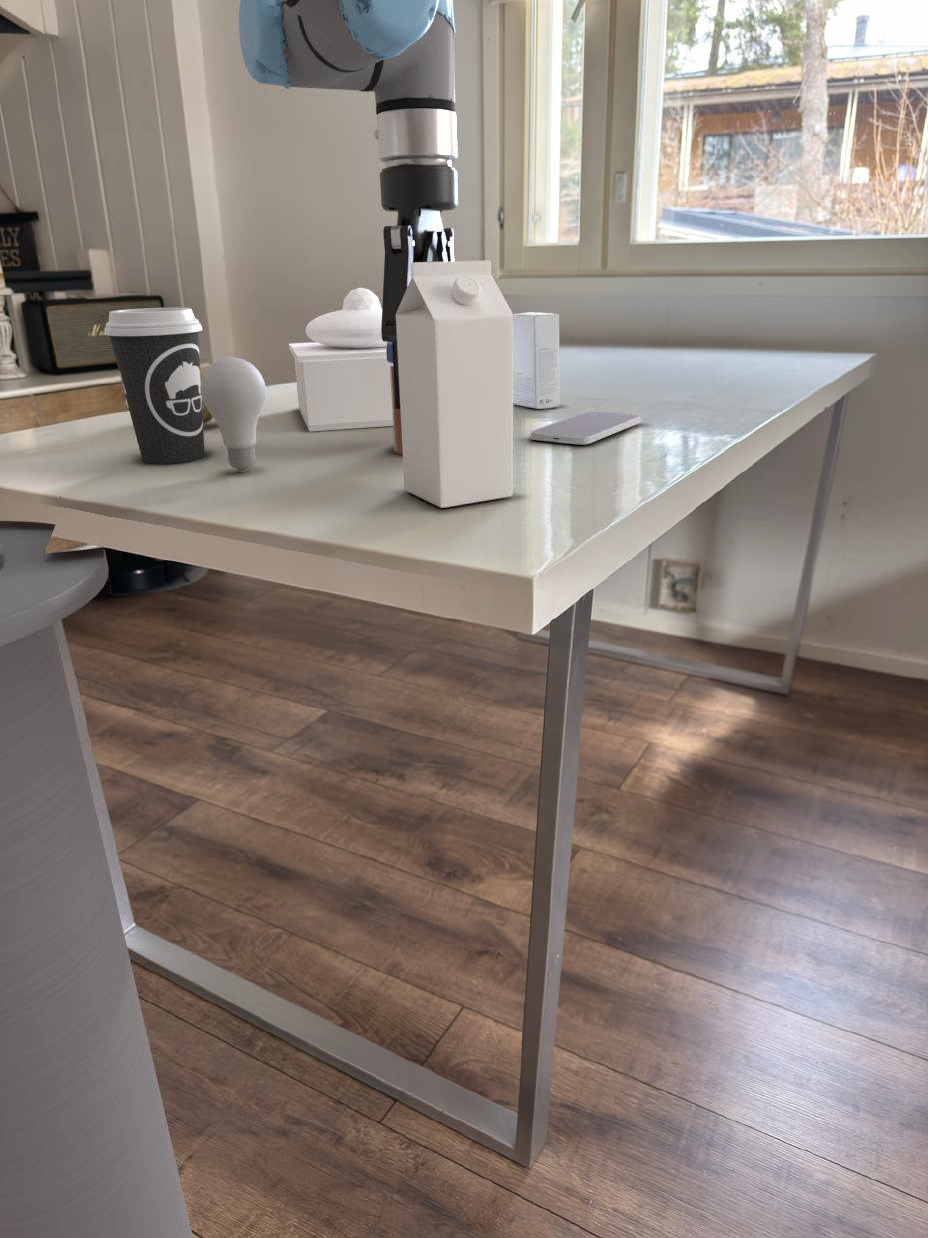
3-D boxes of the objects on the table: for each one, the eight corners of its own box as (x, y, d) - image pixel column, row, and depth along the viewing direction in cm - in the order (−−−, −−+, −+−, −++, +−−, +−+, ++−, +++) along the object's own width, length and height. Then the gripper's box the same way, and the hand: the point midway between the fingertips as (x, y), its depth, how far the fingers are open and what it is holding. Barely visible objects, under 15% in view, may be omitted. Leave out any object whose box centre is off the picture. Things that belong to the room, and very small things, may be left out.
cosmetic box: (561, 406, 117) (563, 312, 113) (534, 410, 115) (535, 314, 111) (534, 401, 122) (535, 310, 118) (508, 404, 120) (508, 312, 115)
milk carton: (404, 492, 77) (392, 262, 70) (473, 481, 80) (469, 260, 73) (440, 510, 71) (432, 262, 64) (513, 497, 74) (513, 259, 67)
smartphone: (526, 432, 97) (588, 410, 108) (526, 440, 97) (588, 417, 108) (585, 438, 93) (643, 415, 104) (585, 446, 93) (643, 422, 104)
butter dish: (448, 421, 109) (444, 287, 103) (304, 431, 105) (291, 292, 99) (421, 401, 124) (416, 283, 118) (295, 409, 121) (283, 287, 114)
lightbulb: (260, 479, 83) (246, 360, 78) (201, 478, 84) (184, 361, 79) (283, 465, 88) (272, 353, 84) (228, 464, 89) (213, 353, 85)
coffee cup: (217, 445, 98) (198, 305, 93) (221, 462, 90) (201, 310, 84) (128, 452, 96) (103, 309, 90) (125, 470, 87) (97, 314, 82)
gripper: (422, 175, 94) (429, 384, 103) (331, 157, 74) (350, 417, 83) (487, 172, 92) (490, 386, 101) (413, 152, 72) (423, 420, 81)
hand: (427, 400), depth 92 cm, fingers open, 10 cm apart
